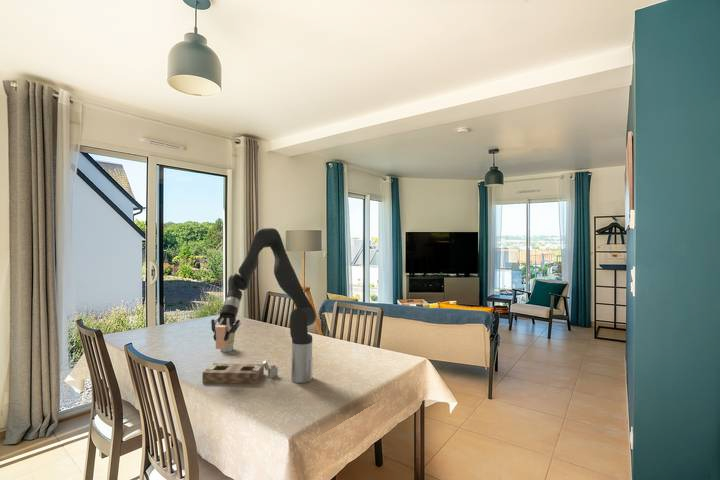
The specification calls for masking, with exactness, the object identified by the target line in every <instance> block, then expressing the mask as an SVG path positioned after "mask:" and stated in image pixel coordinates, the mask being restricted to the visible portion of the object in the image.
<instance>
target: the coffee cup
mask: <svg viewBox="0 0 720 480" xmlns="http://www.w3.org/2000/svg"><path fill="white" fill-rule="evenodd" d="M234 324H235V323H234ZM234 324H233V325H231V329H232V327H233V326H234ZM235 334H236V332H235V333H231V334H230V336H229V339H228V347H226V348H225V349H219V351H220V352H224V353H225V352H226V353H227V352H231V351H233V350H234V343H235V337H236V335H235Z"/></svg>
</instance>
